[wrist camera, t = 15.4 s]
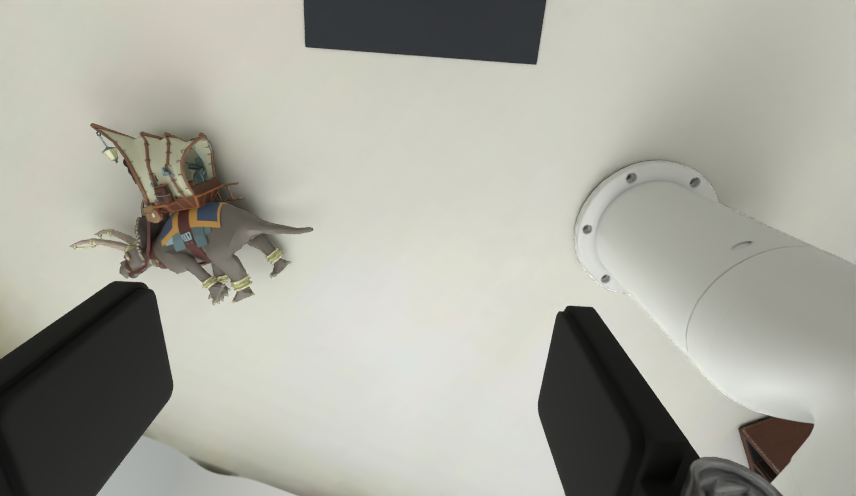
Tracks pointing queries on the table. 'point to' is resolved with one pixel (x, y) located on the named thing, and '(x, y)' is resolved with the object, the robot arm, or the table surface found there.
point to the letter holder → (773, 444)
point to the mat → (429, 27)
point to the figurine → (186, 215)
